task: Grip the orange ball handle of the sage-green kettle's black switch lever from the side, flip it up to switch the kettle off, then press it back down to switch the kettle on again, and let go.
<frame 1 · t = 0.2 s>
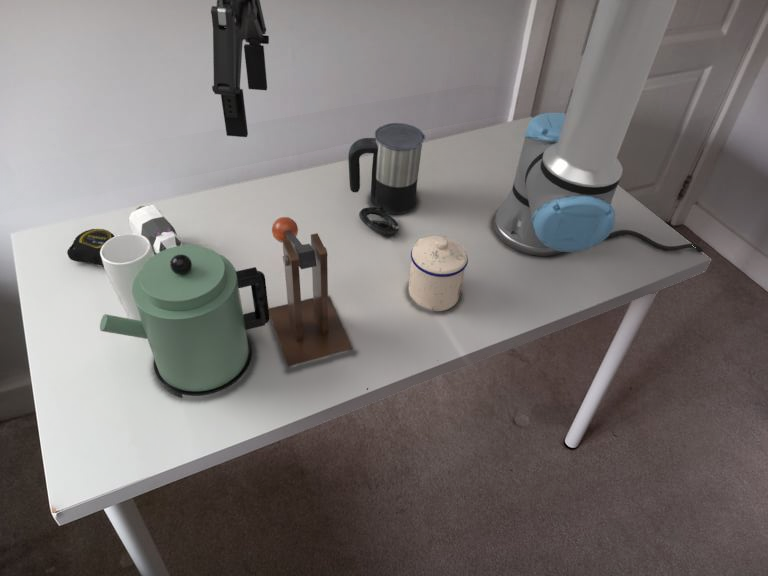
hand: (248, 110, 85), 28 cm above the table, tool pointing down, fingers open, 13 cm apart
drinking glass: (149, 321, 93), on the table
switch lever: (294, 241, 87), point 14 cm above the table, hinge at -20.0°
teacup with lid: (429, 288, 102), on the table
switch base: (309, 332, 93), on the table
milk frother: (388, 213, 116), on the table
tape measure: (99, 259, 102), on the table
kettle: (204, 360, 88), on the table
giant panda: (164, 260, 103), on the table
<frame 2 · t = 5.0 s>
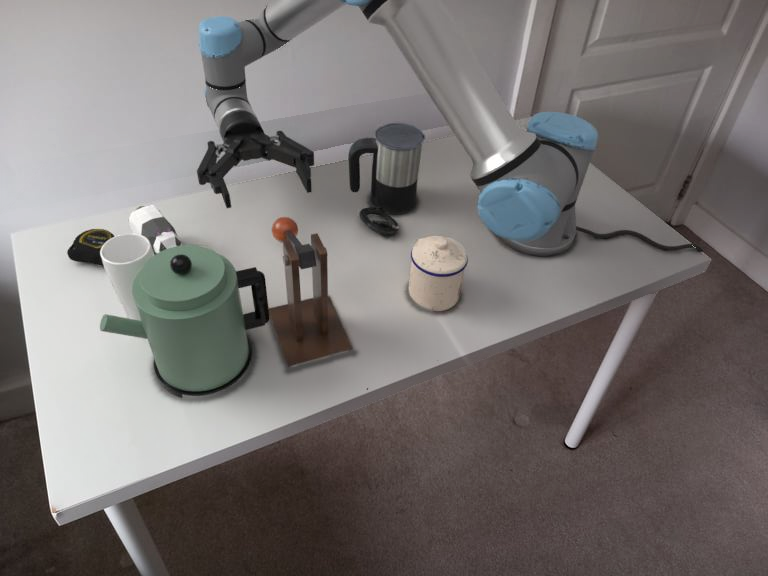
hand: (269, 193, 98), 12 cm above the table, tool horizontal, fingers open, 13 cm apart
nothing on the table moved.
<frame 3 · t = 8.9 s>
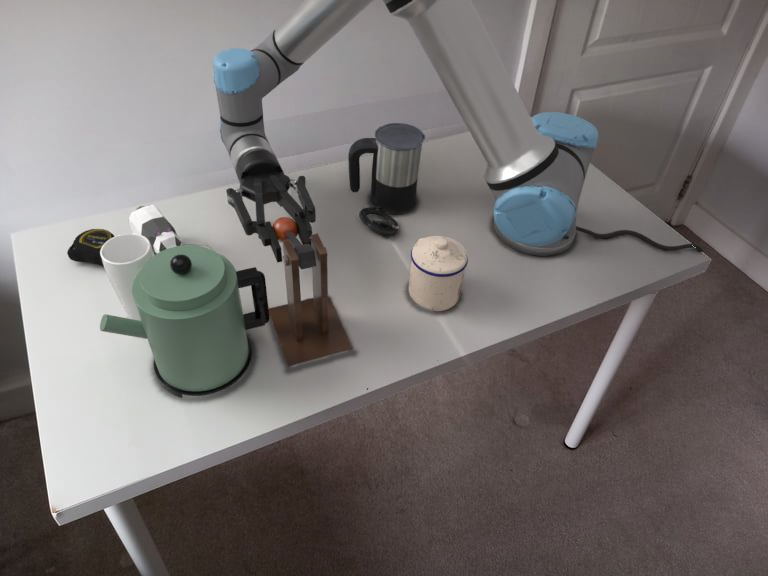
hand: (294, 251, 88), 12 cm above the table, tool horizontal, fingers closed on switch lever, 4 cm apart
switch lever: (294, 241, 87), point 14 cm above the table, hinge at -20.0°, touching gripper
everything else where it was.
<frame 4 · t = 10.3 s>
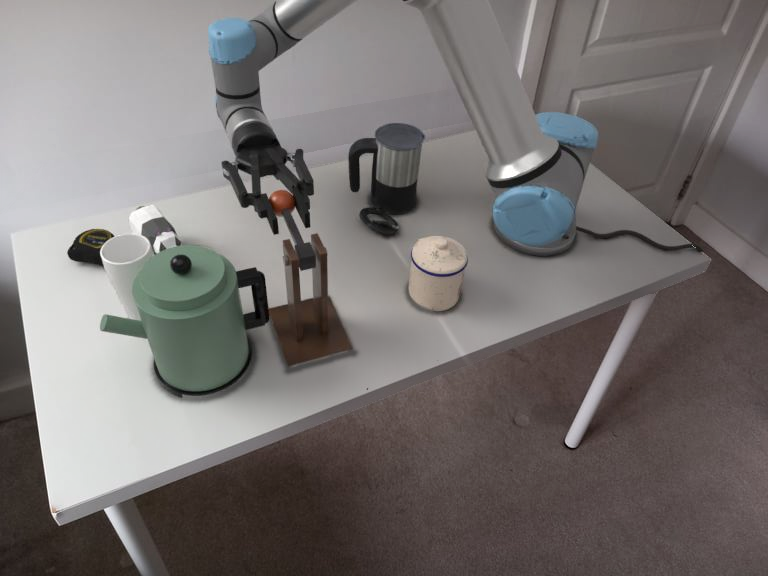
hand: (291, 223, 85), 17 cm above the table, tool horizontal, fingers closed on switch lever, 4 cm apart
switch lever: (292, 227, 86), point 16 cm above the table, hinge at 2.2°, touching gripper
everything else where it was.
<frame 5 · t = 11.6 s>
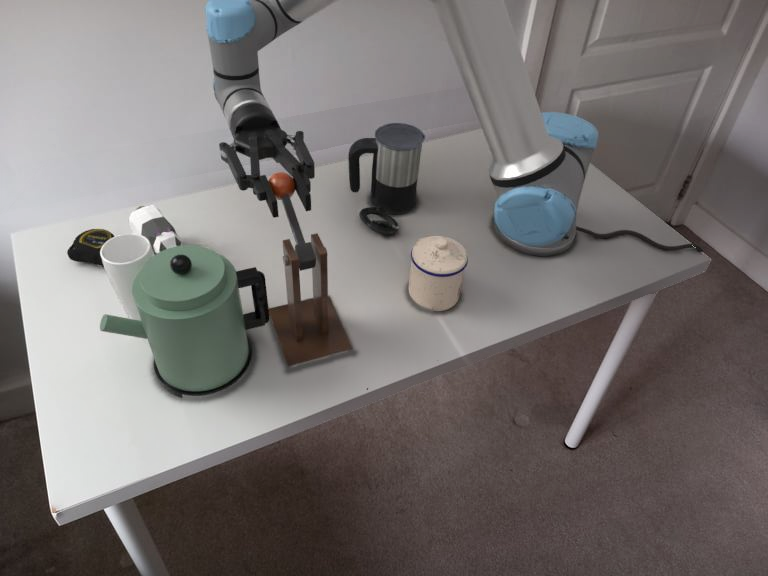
hand: (291, 206, 82), 20 cm above the table, tool horizontal, fingers closed on switch lever, 4 cm apart
switch lever: (292, 218, 84), point 18 cm above the table, hinge at 19.4°, touching gripper
everything else where it was.
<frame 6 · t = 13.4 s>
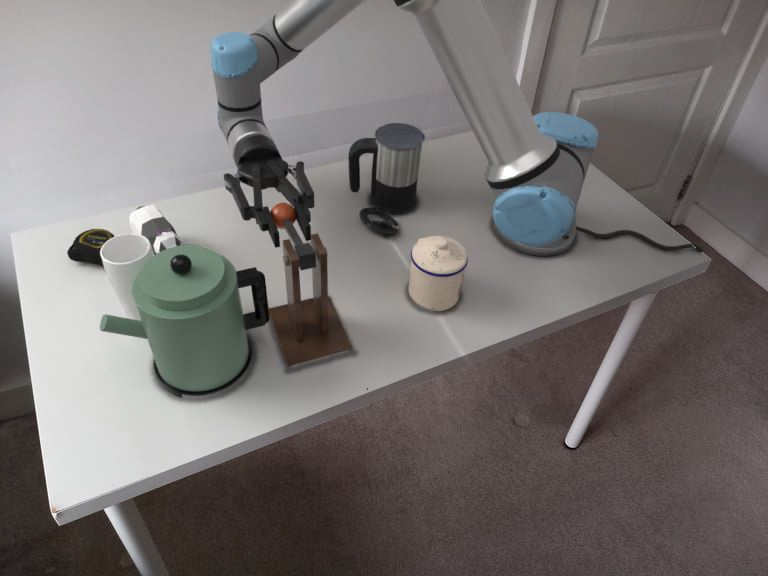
hand: (292, 236, 87), 14 cm above the table, tool horizontal, fingers closed on switch lever, 4 cm apart
switch lever: (293, 234, 86), point 15 cm above the table, hinge at -8.7°, touching gripper
everything else where it was.
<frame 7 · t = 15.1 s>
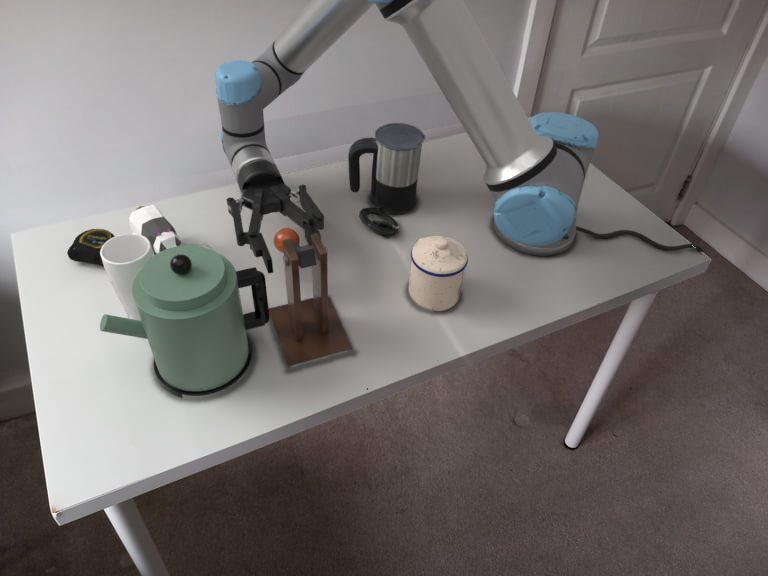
hand: (294, 260, 90), 10 cm above the table, tool horizontal, fingers open, 7 cm apart
switch lever: (295, 247, 87), point 13 cm above the table, hinge at -28.4°
everything else where it was.
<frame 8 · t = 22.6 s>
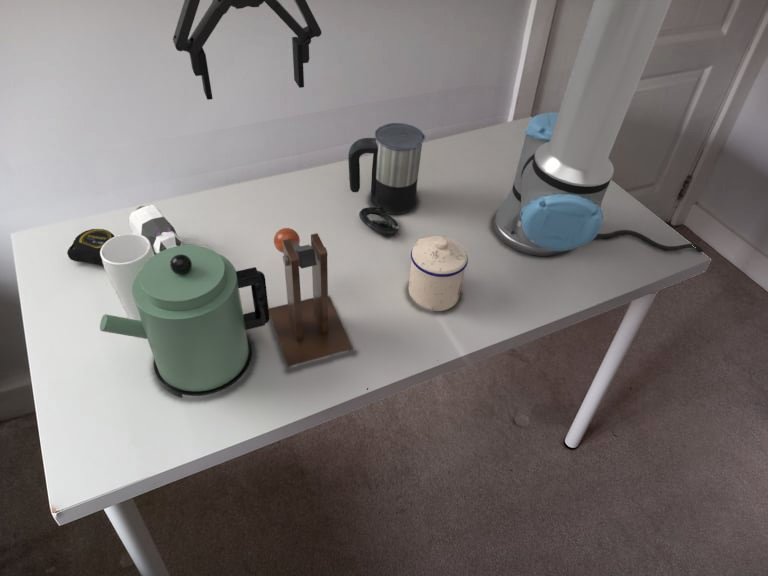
hand: (254, 89, 88), 29 cm above the table, tool pointing down, fingers open, 13 cm apart
nothing on the table moved.
at the end: switch lever reached +19° during the clip, -28° at the end; switch lever at -28° (first picture: -20°) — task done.
